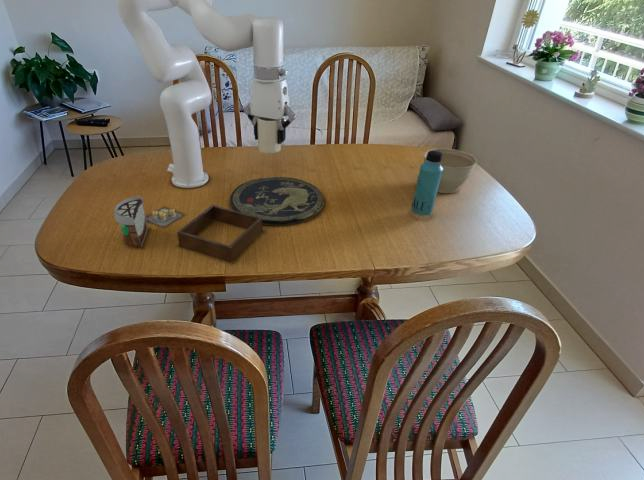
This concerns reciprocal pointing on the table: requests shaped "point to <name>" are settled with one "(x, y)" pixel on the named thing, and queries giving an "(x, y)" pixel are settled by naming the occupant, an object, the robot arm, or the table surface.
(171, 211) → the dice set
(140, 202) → the food container
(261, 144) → the cup
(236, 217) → the wooden box
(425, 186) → the beverage bottle
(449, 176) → the planter bowl
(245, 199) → the decorative plate
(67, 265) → the table surface
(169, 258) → the table surface
